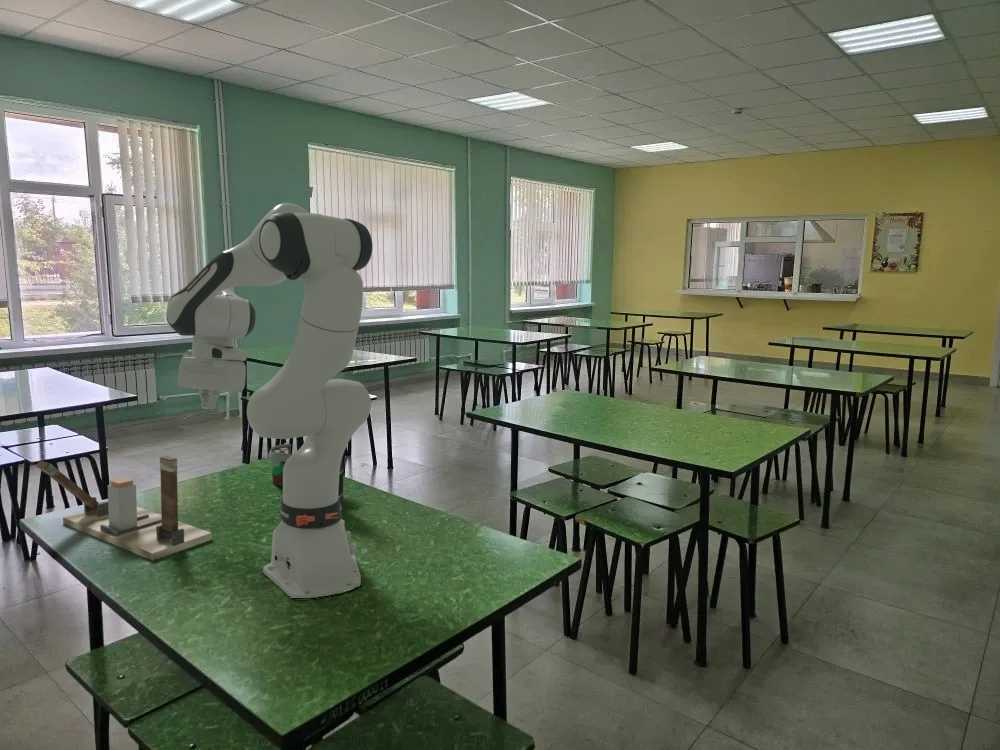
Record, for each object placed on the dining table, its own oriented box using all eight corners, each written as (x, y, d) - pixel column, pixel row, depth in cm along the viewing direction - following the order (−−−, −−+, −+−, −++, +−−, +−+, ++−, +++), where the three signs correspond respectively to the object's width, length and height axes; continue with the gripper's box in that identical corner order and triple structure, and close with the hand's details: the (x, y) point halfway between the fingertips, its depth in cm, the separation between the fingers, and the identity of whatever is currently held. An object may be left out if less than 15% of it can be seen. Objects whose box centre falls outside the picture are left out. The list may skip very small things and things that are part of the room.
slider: (126, 523, 152) (125, 476, 151) (137, 527, 150) (135, 480, 149) (109, 528, 149) (107, 480, 147) (119, 532, 147) (118, 484, 145)
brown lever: (168, 534, 146) (166, 455, 143) (179, 538, 144) (177, 458, 142) (160, 537, 144) (159, 457, 142) (171, 541, 143) (169, 460, 140)
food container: (268, 476, 197) (268, 443, 196) (290, 476, 199) (290, 443, 197) (267, 490, 185) (267, 455, 184) (290, 489, 187) (291, 454, 186)
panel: (211, 539, 150) (211, 520, 149) (152, 560, 138) (152, 539, 137) (122, 507, 167) (122, 489, 166) (63, 523, 154) (62, 504, 154)
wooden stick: (97, 504, 160) (41, 459, 148) (106, 507, 158) (50, 462, 146) (91, 510, 159) (34, 465, 147) (100, 513, 157) (43, 469, 145)
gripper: (172, 348, 162) (168, 405, 162) (229, 352, 152) (225, 412, 152) (195, 350, 168) (191, 405, 168) (252, 353, 158) (248, 412, 158)
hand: (208, 408), depth 160 cm, fingers closed
